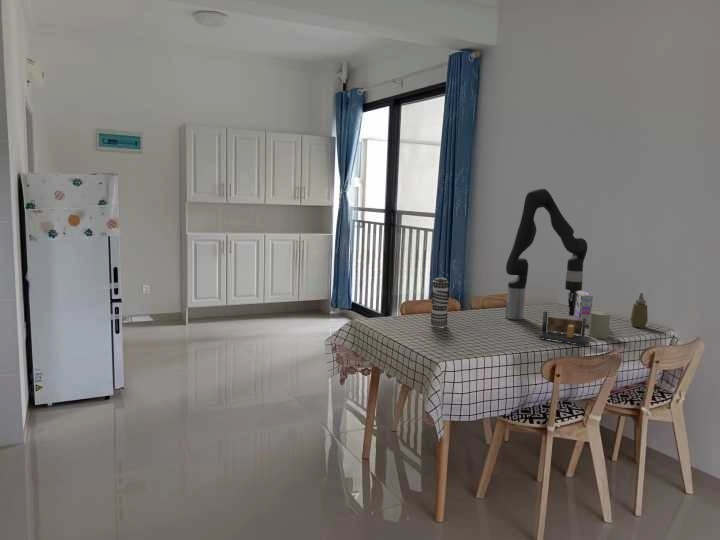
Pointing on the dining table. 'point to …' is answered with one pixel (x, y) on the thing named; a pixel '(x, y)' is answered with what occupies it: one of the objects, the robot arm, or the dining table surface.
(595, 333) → the can
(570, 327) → the fader
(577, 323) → the door
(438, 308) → the decorative candle
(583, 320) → the frame
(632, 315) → the squeeze bottle
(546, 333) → the console
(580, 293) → the candy box
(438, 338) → the dining table surface
